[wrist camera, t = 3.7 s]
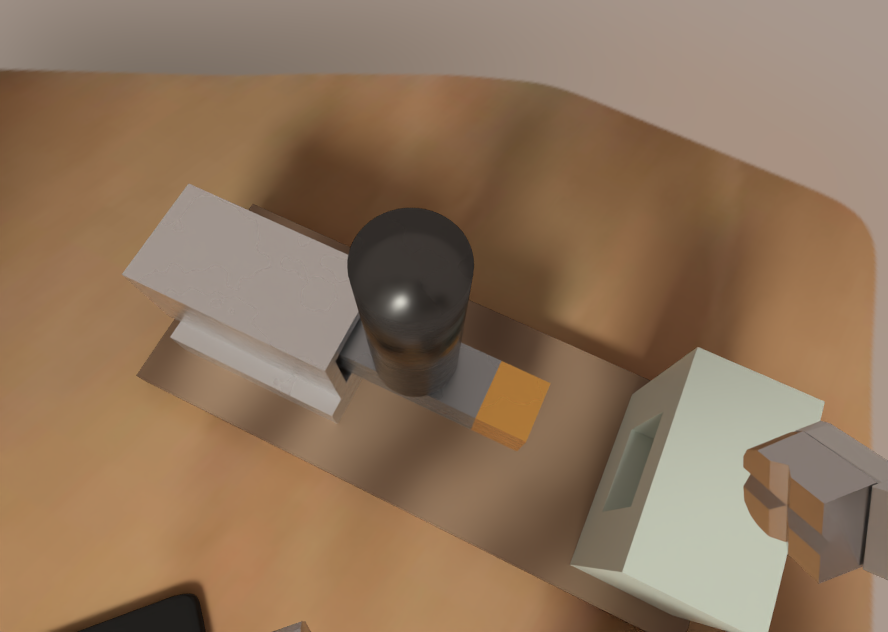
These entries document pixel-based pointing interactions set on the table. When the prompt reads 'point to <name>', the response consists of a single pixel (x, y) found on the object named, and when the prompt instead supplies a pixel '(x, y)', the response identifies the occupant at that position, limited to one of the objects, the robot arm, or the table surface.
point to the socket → (693, 494)
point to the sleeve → (253, 298)
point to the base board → (454, 448)
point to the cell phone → (158, 617)
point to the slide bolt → (430, 328)
